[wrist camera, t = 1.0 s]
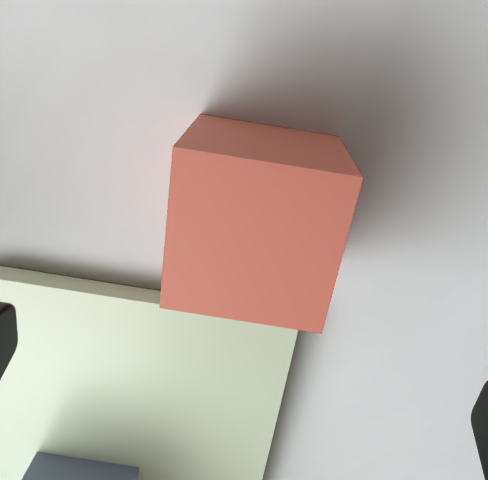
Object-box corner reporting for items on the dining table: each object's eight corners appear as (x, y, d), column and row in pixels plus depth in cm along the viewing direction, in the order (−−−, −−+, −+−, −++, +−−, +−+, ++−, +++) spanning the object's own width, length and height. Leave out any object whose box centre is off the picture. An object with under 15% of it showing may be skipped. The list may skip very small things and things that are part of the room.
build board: (298, 312, 20) (299, 326, 19) (242, 547, 26) (241, 566, 25) (-9, 264, 20) (-22, 276, 19) (14, 512, 26) (5, 530, 25)
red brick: (338, 135, 17) (363, 177, 12) (309, 259, 19) (321, 333, 14) (200, 113, 17) (172, 146, 12) (187, 239, 19) (159, 308, 14)
